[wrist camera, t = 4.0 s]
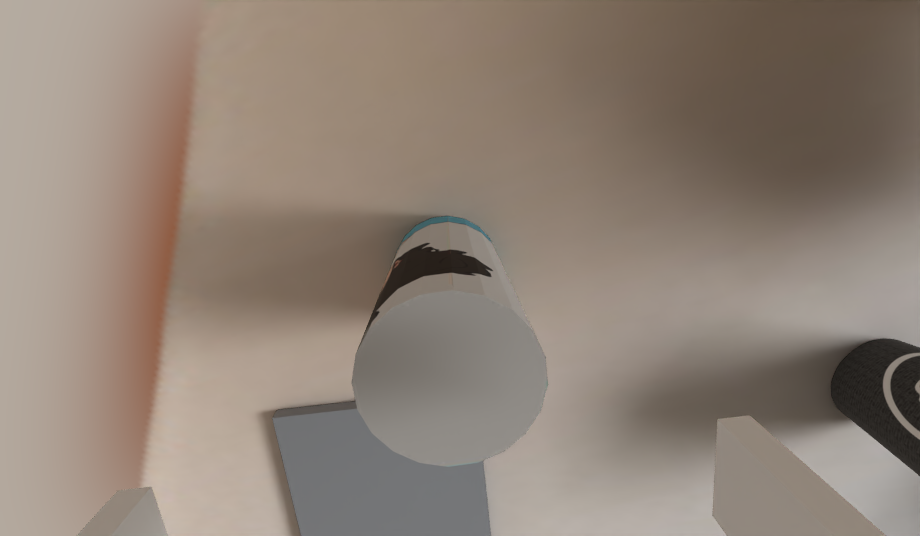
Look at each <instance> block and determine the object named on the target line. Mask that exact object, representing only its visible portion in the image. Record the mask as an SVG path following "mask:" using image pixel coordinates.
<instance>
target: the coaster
mask: <svg viewBox="0 0 920 536" xmlns="http://www.w3.org/2000/svg"><path fill="white" fill-rule="evenodd" d="M272 419H273V423H274V428H275V432H276V436H277V440H278V444H279V448H280V452H281V456H282V460H283V464H284V468H285V472H286V476H287V481H288V485H289V489H290V493H291V497H292V501H293V505H294V509H295V513H296V517H297V521H298V525H299V529H300V534H301V536H491V531H490V521H489V512H488V503H487V493H486V484H485V475H484V465H483V461H481V462H478V463H473V464H465V465H458V466H450V467H446V466H439V465H432V464H424V463H419V462H416V461H414V460H412V459H410V458H407V457H405V456H403V455H400V454H398V453H396V452H393V451H392V450H391V449H390V448H389V447H388V446H386V445H385V444H384V443H383V442H382V441H380V440H379V439H378V438H377V437H376V436H375V435H373V434H372V433H371V431H370V429H369V428H368V426H367V424H366V423H365V421H364V420H363V418H362V416H361V415H360V413H359V411H358V410H357V405H356V401H352V402H343V403H335V404H326V405H317V406H308V407H299V408H290V409H281V410H277V411H276V413H275V414H274V416H273V418H272Z"/></svg>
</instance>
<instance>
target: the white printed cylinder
mask: <svg viewBox="0 0 920 536" xmlns="http://www.w3.org/2000/svg"><path fill="white" fill-rule="evenodd" d="M352 386H353V391H354V396H355V401H356V405H357V410H358V411H359V413H360V415H361V416H362V418H363V420H364V421H365V423H366V424H367V426H368V428H369V429H370V431H371V433H372V434H373V435H375V436H376V437H377V438H378V439H379V440H380V441H382V442H383V443H384V444H385V445H386V446H388V447H389V448H390V449H391V450H392V451H393V452H396V453H398V454H400V455H403V456H405V457H407V458H410V459H412V460H414V461H416V462H419V463H424V464H432V465H439V466H446V467H450V466H458V465H465V464H473V463H478V462H481V461H483V460H485V459H488V458H490V457H492V456H495V455H497V454H499V453H502V452H504V451H505V450H506V449H508V448H509V447H510V446H511V445H512V444H514V443H515V442H516V441H517V440H519V439H520V438H521V437H522V436H524V435H525V434H526V432H527V431H528V429H529V428H530V426H531V425H532V423H533V422H534V420H535V419H536V417H537V416H538V414H539V413H540V411H541V408H542V405H543V401H544V397H545V393H546V390H547V386H548V380H547V368H546V357H545V355H544V352H543V350H542V348H541V346H540V344H539V342H538V339H537V337H536V335H535V333H534V331H533V329H532V327H531V324H530V322H529V320H528V318H527V316H526V314H525V312H524V310H523V308H522V305H521V303H520V301H519V299H518V297H517V295H516V293H515V291H514V289H513V286H512V284H511V282H510V280H509V278H508V276H507V274H506V272H505V270H504V268H503V265H502V263H501V261H500V259H499V257H498V255H497V253H496V251H495V249H494V246H493V244H492V242H491V240H490V238H489V237H488V236H487V235H486V234H485V233H484V232H483V231H482V230H481V229H480V228H479V227H478V226H477V225H475V224H473V223H471V222H469V221H467V220H465V219H462V218H457V217H451V216H443V217H435V218H430V219H428V220H426V221H424V222H422V223H420V224H418V225H416V226H415V227H414V228H413V229H412V230H411V231H410V232H409V233H408V234H407V235H406V236H405V237H404V239H403V241H402V243H401V244H400V246H399V248H398V250H397V252H396V255H395V257H394V260H393V263H392V265H391V268H390V270H389V273H388V275H387V278H386V280H385V283H384V285H383V288H382V290H381V293H380V295H379V298H378V300H377V303H376V305H375V308H374V310H373V313H372V315H371V318H370V320H369V323H368V325H367V328H366V330H365V333H364V335H363V338H362V340H361V343H360V345H359V348H358V350H357V353H356V356H355V363H354V370H353V377H352Z"/></svg>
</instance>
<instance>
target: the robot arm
mask: <svg viewBox="0 0 920 536" xmlns="http://www.w3.org/2000/svg"><path fill="white" fill-rule="evenodd" d="M712 516H713V517H714V518H715V520H716V521H717V522H718V524H719V525H720V526H721V528H722V529H723V531H724V532H725V533H726V535H727V536H886V535H885V534H884V533H882V532H881V531H880V530H879V529H878V528H877V527H876V526H875V525H873V524H872V523H871V522H870V521H869V520H868V519H867V518H866V517H864V516H863V515H862V514H861V513H860V512H859V511H858V510H856V509H855V508H854V507H853V506H852V505H851V504H850V503H849V502H847V501H846V500H845V499H844V498H843V497H842V496H841V495H839V494H838V493H837V492H836V491H835V490H834V489H833V488H832V487H830V486H829V485H828V484H827V483H826V482H825V481H824V480H823V479H821V478H820V477H819V476H818V475H817V474H816V473H815V472H813V471H812V470H811V469H810V468H809V467H808V466H807V465H806V464H804V463H803V462H802V461H801V460H800V459H799V458H798V457H797V456H795V455H794V454H793V453H792V452H791V451H790V450H789V449H787V448H786V447H785V446H784V445H783V444H782V443H781V442H780V441H778V440H777V439H776V438H775V437H774V436H773V435H772V434H771V433H769V432H768V431H767V430H766V429H765V428H764V427H763V426H761V425H760V424H759V423H758V422H757V421H756V420H755V419H754V418H752V417H751V416H750V415H747V416H738V417H730V418H722V419H717V437H716V456H715V475H714V495H713V514H712ZM77 536H168V534H167V531H166V529H165V526H164V523H163V520H162V517H161V514H160V511H159V508H158V505H157V502H156V499H155V496H154V493H153V490H152V487H145V488H137V489H128V490H120V491H117V492H116V493H115V494H114V495H113V496H112V497H111V499H110V500H109V501H108V502H107V503H106V504H105V505H104V506H103V507H102V509H100V511H99V512H98V513H97V514H96V515H95V516H94V517H93V518H92V519H91V521H90V522H89V523H88V524H87V525H86V526H85V527H84V528H83V529H82V530H81V531H80V533H79V534H78V535H77Z"/></svg>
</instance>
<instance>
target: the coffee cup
mask: <svg viewBox="0 0 920 536" xmlns="http://www.w3.org/2000/svg"><path fill="white" fill-rule="evenodd" d="M831 394H832V398H833V401H834V403H835V405H836V406H837V408H838V409H839V410H840V411H841V412H842V413H844V414H845V415H846V416H847V417H848V418H850V419H851V420H852V421H853V422H855V423H856V424H857V425H858V426H859V427H861V428H862V429H863V430H864V431H866V432H867V433H868V434H869V435H870V436H872V437H873V438H874V439H875V440H877V441H878V442H879V443H880V444H881V445H883V446H884V447H885V448H886V449H888V450H889V451H890V452H891V453H892V454H894V455H895V456H896V457H897V458H899V459H900V460H901V461H902V462H903V463H905V464H906V465H907V466H908V467H910V468H911V469H912V470H913V471H914V472H916V473H917V474H918V475H919V476H920V348H919V347H916V346H913V345H910V344H908V343H905V342H902V341H899V340H894V339H880V340H875V341H871V342H868V343H866V344H864V345H862V346H860V347H858V348H856V349H855V350H854V351H852V352H851V353H850V354H849V355H848V356H846V358H845V359H844V360H843V361H842V362H841V363H840V365H839V366H838V368H837V370H836V372H835V374H834V376H833V380H832V385H831Z"/></svg>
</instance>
